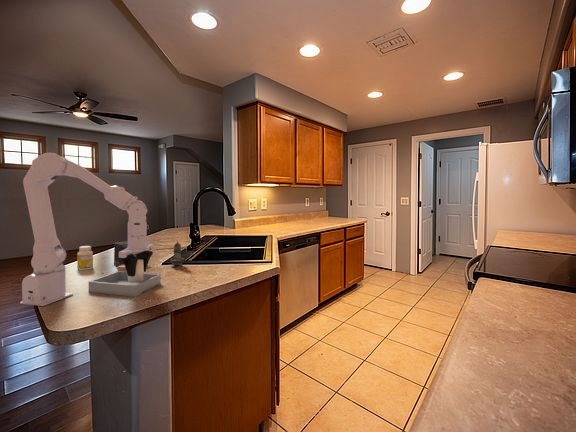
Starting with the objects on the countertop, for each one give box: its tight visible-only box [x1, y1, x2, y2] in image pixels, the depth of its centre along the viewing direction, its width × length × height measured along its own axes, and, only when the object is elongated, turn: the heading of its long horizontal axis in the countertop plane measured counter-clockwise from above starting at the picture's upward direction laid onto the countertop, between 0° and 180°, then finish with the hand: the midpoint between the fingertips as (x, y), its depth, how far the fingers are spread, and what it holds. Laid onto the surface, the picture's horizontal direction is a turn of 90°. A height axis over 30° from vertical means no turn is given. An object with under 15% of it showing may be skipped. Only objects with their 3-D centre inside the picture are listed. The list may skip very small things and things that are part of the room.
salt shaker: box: [169, 241, 185, 269], centre depth 123 cm, size 6×6×12 cm
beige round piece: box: [127, 259, 145, 283], centre depth 93 cm, size 5×5×7 cm
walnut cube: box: [116, 265, 127, 272], centre depth 104 cm, size 5×5×5 cm
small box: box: [113, 240, 137, 267], centre depth 124 cm, size 11×6×10 cm, turn 149°
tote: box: [88, 271, 162, 298], centre depth 93 cm, size 13×17×4 cm
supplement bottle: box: [76, 245, 94, 271], centre depth 113 cm, size 5×5×10 cm
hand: (137, 273), depth 93 cm, fingers closed on beige round piece, 5 cm apart
